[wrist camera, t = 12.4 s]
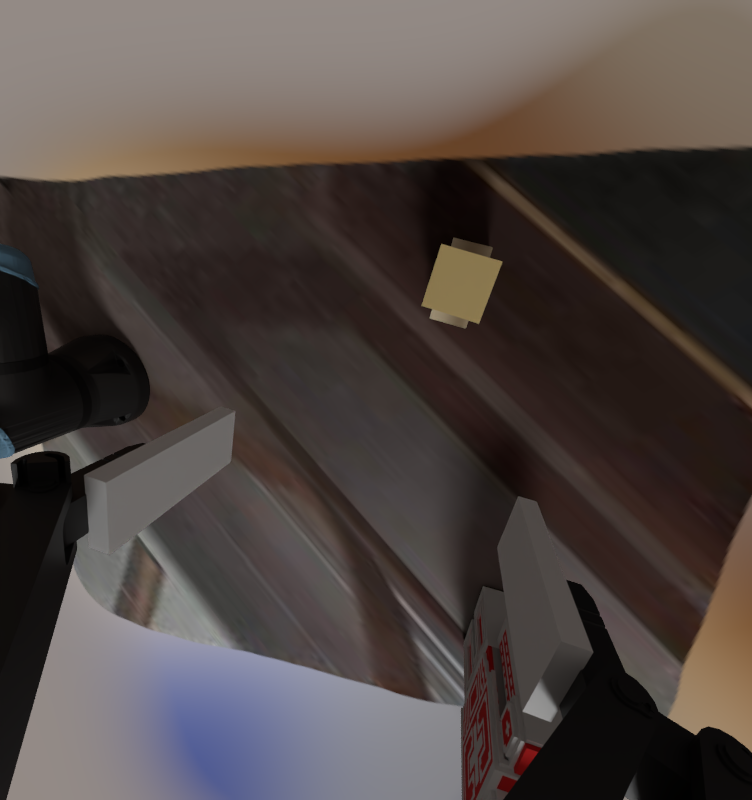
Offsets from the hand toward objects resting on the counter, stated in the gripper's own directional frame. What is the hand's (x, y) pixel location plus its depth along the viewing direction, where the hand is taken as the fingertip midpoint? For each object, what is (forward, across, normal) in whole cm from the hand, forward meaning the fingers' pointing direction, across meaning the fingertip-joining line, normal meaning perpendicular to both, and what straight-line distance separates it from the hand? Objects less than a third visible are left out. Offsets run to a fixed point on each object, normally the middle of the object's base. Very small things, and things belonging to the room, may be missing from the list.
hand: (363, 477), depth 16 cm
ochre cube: (+30, +2, +9) cm, 31 cm away
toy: (+35, +22, -40) cm, 57 cm away
